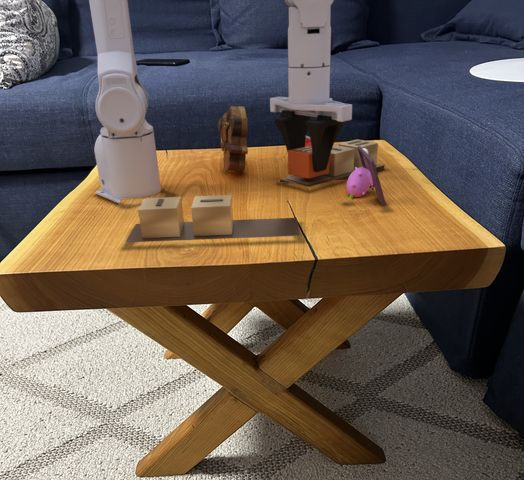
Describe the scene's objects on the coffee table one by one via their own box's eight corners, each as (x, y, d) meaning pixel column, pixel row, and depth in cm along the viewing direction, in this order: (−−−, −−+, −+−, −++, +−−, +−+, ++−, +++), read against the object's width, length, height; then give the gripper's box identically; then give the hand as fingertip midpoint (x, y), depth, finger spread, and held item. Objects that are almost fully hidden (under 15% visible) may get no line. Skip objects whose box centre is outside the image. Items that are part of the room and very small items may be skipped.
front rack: (126, 248, 64) (119, 212, 62) (136, 229, 69) (130, 195, 67) (300, 242, 64) (300, 204, 62) (296, 223, 69) (296, 188, 67)
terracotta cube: (308, 178, 81) (308, 153, 79) (287, 173, 84) (287, 149, 82) (329, 172, 84) (330, 148, 82) (308, 168, 86) (308, 144, 85)
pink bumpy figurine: (379, 158, 68) (364, 143, 76) (339, 174, 69) (328, 158, 77) (393, 208, 72) (377, 189, 80) (354, 223, 73) (343, 202, 80)
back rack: (309, 192, 81) (309, 161, 79) (279, 184, 85) (278, 155, 83) (384, 170, 90) (386, 142, 88) (354, 163, 94) (355, 137, 92)
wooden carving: (213, 161, 100) (208, 100, 94) (238, 159, 100) (234, 98, 95) (229, 184, 86) (225, 115, 81) (258, 181, 87) (255, 112, 81)
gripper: (369, 65, 74) (363, 170, 81) (294, 61, 83) (294, 156, 90) (332, 70, 70) (329, 180, 77) (257, 66, 79) (261, 164, 86)
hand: (308, 167), depth 83 cm, fingers closed on terracotta cube, 4 cm apart
